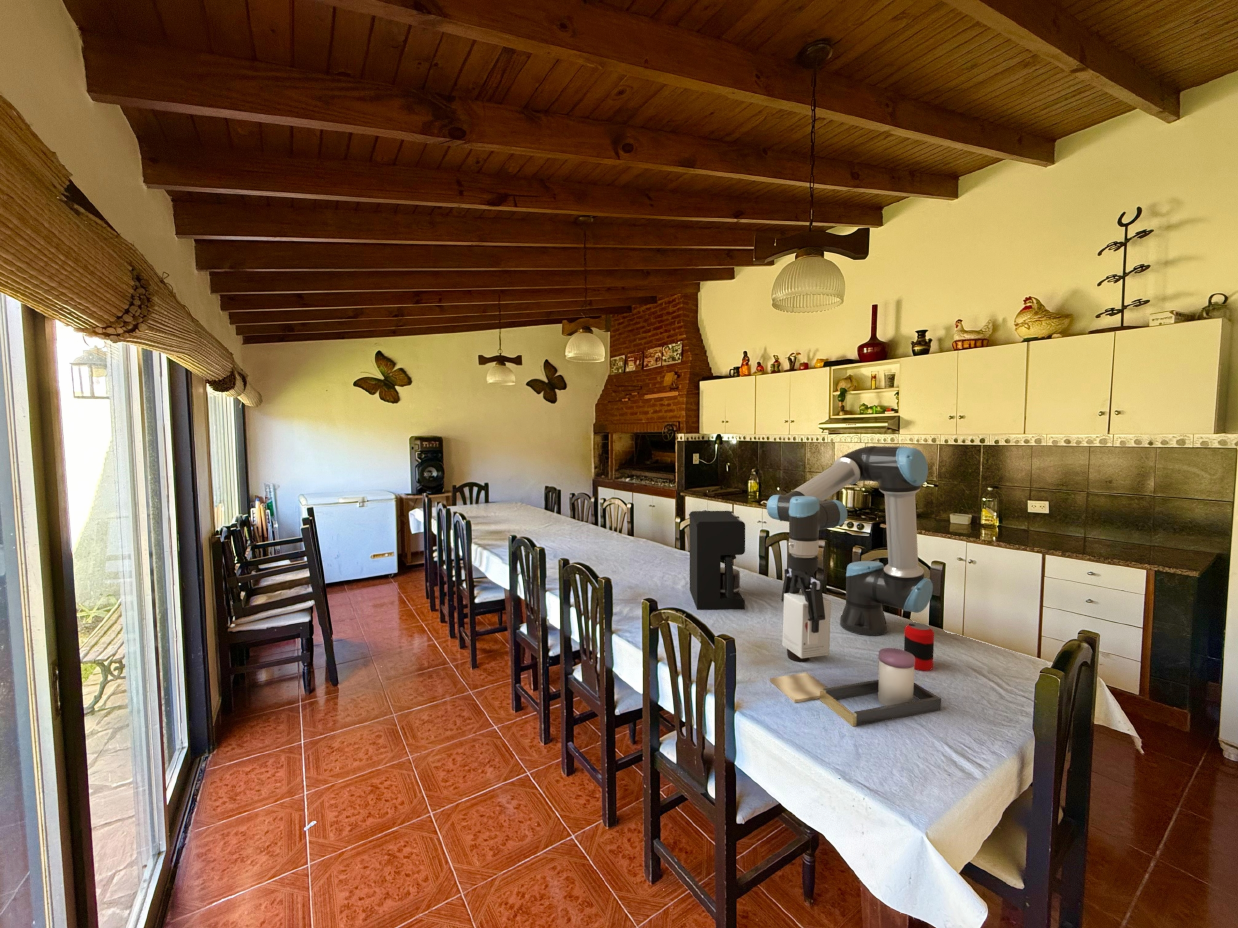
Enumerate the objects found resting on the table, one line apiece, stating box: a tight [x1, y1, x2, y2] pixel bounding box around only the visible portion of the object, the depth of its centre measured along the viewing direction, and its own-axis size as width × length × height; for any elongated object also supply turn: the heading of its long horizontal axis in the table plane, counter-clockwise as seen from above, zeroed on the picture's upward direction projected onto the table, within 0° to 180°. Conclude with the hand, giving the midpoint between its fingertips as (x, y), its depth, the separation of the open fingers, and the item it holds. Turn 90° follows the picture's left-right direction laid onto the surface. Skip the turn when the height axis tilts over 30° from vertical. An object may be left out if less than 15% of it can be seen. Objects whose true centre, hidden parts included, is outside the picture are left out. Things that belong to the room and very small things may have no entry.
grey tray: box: [819, 679, 942, 727], centre depth 135 cm, size 26×12×3 cm, turn 105°
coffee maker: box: [688, 510, 746, 611], centre depth 213 cm, size 28×20×35 cm
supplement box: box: [781, 591, 832, 658], centre depth 143 cm, size 9×9×15 cm
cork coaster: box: [769, 672, 828, 704], centre depth 144 cm, size 12×12×1 cm
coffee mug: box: [786, 648, 811, 663], centre depth 164 cm, size 12×9×10 cm
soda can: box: [903, 622, 935, 672], centre depth 156 cm, size 8×8×12 cm
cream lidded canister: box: [877, 647, 915, 706], centre depth 136 cm, size 8×8×13 cm
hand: (801, 636), depth 143 cm, fingers closed on supplement box, 9 cm apart
